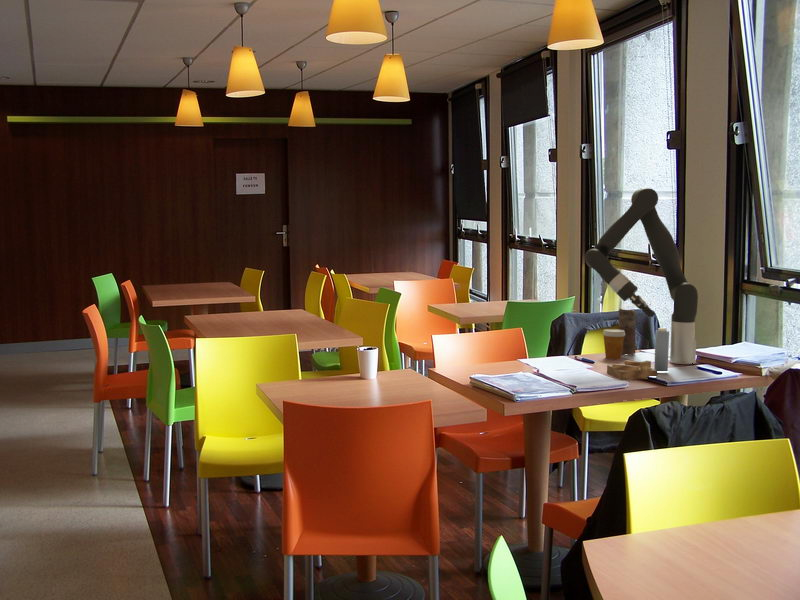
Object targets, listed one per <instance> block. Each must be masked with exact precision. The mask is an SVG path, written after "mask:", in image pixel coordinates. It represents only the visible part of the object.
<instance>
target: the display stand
mask: <svg viewBox="0 0 800 600" xmlns="http://www.w3.org/2000/svg"><path fill="white" fill-rule="evenodd" d="M623 362H624V364H621V363H613V364H606V373H607V374H609V375H611V376H612V377H613V376H614V377H615V378H617V379H619V380H621V381H622V380H649V379H648V378H647V377H649V376H657V377H658V373H657V370H654V368H652V361H651V360H644V361H643V360H642V361H636V360H627V359H626V360H624V361H623Z"/></svg>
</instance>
